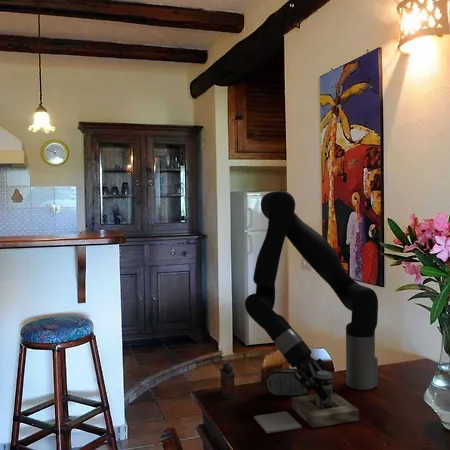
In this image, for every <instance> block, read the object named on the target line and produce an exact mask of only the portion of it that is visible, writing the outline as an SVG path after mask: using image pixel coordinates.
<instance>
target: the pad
mask: <svg viewBox="0 0 450 450" xmlns="http://www.w3.org/2000/svg"><path fill="white" fill-rule="evenodd" d="M253 419H254V420H255V421H256V422H257V423H258V425H259V426H260V427H261V428H262V429H263V430H264V432H265V433H266V434H272V433H278V432H284V431H285V432H286V431H290V430H291V431H292V430H296V429H302V425H301V423H299V422H298V421H297V420H296V419H295V418H294V417H292V415H291V414H290V413H289V412H287V411H286V410H285V411H279V412H274V413H266V414H259V415H254V416H253Z"/></svg>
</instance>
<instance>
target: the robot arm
mask: <svg viewBox="0 0 450 450" xmlns="http://www.w3.org/2000/svg"><path fill="white" fill-rule="evenodd" d="M260 209H261V212H262V214H263V215H264V217H265V218H266V219H267V220H268V224H267V230H266V234H265V237H264V240H263V242H262V245H261V247H260V250H259V252H258V255H257V257H256V261H255V267H254V272H253V283H254V284H255V287H256V288H255V292H254V293H251V294H249V295H248V296H247V297H246V298H245V300H244V307H245V312H246V313H247V314H248V315H249V317H250V318H251V319H252V320H253V321H254V322H255V323H256V324H257V325H258V326H259V327H261V328H262V329H263V330H264V331H265V332H266V334H267V335H268V337H269V339H271V340H272V342H273V343H274V345H275V346H276V348H277V350H278V352H280V353H281V355H282V356H283V357H284V360H285V361H286V362H287V363H288V364H289V365H290V367H291V368H292V369H297V371H298V372H297V373H295V374H294V377H295V378H296V379H297V380H298V381H299V382H300V383H301V384H302V385H303V386H304V387H305V388H306V389H307V390H308V391H310V392H311V391H312V392H313V391H314V392H316V394H317V395H318V396H319V398H320V399H321V400H322V401H325V400H326V399H327V398H328V395H327V393H326V392H325V391H324V390H323V388H322V387H321V386H319V383H318V381H317V376H316V373H317V372H318V371H321V370H324V371H329V370H328V368H327V367H326V365H325V362H324V361H323V360H322V359H321V358H318V359H317V360H316V359H314V358H313V357H312V356H311V355H312V350H311V349H310V347H309V346H308V345H307V343H306V342H305V341H304V339H302V337H301V336H300V335H299V334H298V333H297V332H296V330H294V328H293V327H292V326H291V324H289V322H288V320H287V319H286V318H285V317H284V316H283V315H280V314H278V313H276V312H275V310H274V307H275V303H276V302H275V301H276V280H277V275H278V270H279V265H280V260H281V255H282V251H283V246H284V242H285V240H286V238H287V239H288V240H289V242H290V243H291V244H292V246H293V247H294V248H295V249H296V251H297V252H298V253H299V254H300V256H301V257H302V258H303V259H304V260H305V262H307V264H308V265H309V266H310V267H311V268H312V269H313V270H314V271H315V272H316V273H317V274H318V276H320V277H321V278H322V280H323V281H324V282H326V283H327V284H328V286H330V288H331V289H332V290H333V292H334V293H335V295H336V296H337V298H338V299H339V301H340V302H341V303H342V304H343V306H344V307H345V308H346V309H347V310H349V311H350V312H351V321H350V322H349V323H347V324H346V326H345V372H346V373H345V383H346V386H347V387H348V388H351V389H353V390H359V391H368V390H373V389H374V388H376V387H378V375H379V373H378V372H379V371H378V369H379V368H378V364H379V363H378V361H379V360H378V357H376V335H375V333H376V328H377V327H378V316H379V301H378V295H377V293H376V291H375V290H374V289H372V288H370V287H368V286H365V285H362V284H360V283H358V282H357V281H356V280H354V278H352V277H351V276H350V275H349V273H348V272H347V271H346V269H345V268H344V266H343V264H342V262H341V259H340V257H339V255H338V253H337V252H336V250H335V249H334V247H332V245H331V244H330V242H328V240H326V238H325V237H324V236H322V234H321V233H319V232H317V231H316V230H315V229H314V228H312V227H311V226H310V225H308V224H307V223H306V222H304V221H303V220H302V219H301V218H300V217H299V216H298V215H297V213H296V212H295V210H296V200H295V198H294V196H293V195H292V194H291V193H290V192H288V191H285V190H275V191H270V192H268V193H266V194H264V195H263V197H262V198H261V200H260ZM305 382H306V383H307V384H309V385H307V384H306V383H305ZM336 392H337V389H336V387H335V386H334V385H333V384H332V394H334V393H336Z"/></svg>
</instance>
